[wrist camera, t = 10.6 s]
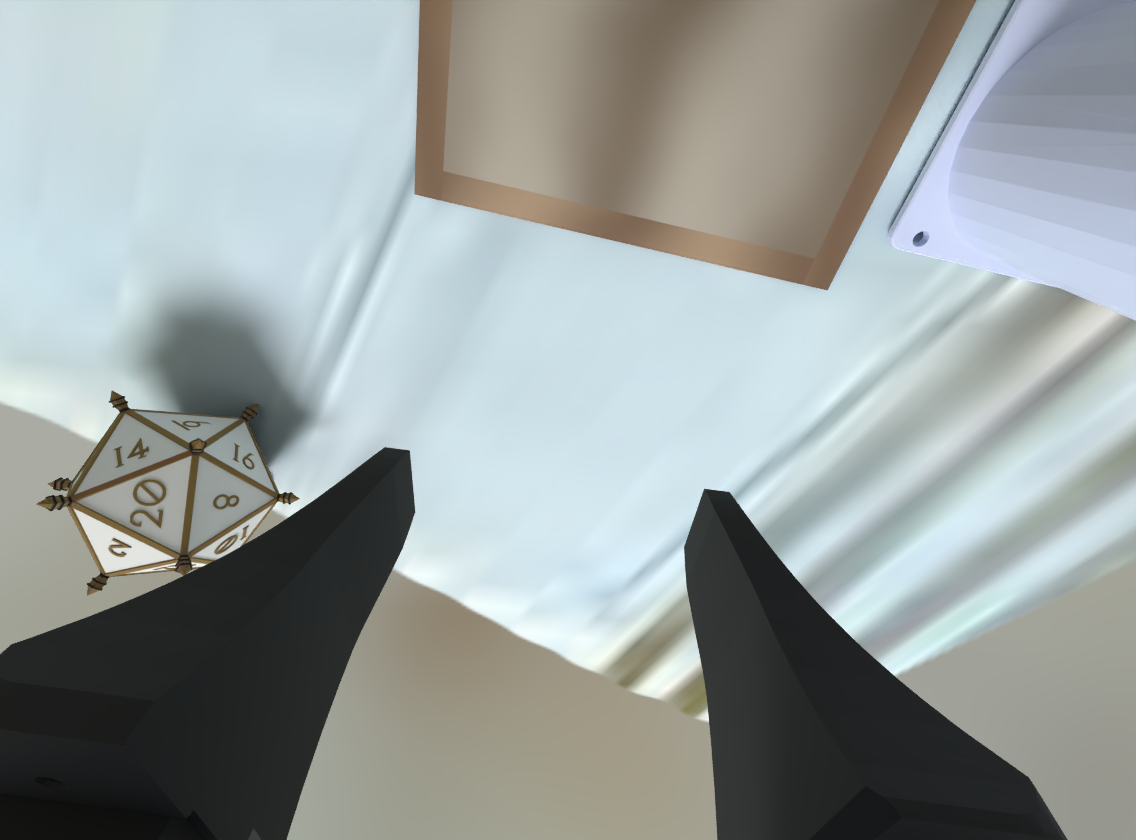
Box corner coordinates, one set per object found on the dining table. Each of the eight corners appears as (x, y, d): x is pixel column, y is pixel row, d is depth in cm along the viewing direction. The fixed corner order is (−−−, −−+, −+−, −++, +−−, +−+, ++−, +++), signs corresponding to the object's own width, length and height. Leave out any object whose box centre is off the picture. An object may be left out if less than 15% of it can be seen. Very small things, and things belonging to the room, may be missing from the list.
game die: (244, 379, 28) (5, 344, 18) (362, 439, 26) (161, 434, 16) (189, 523, 28) (-72, 563, 19) (301, 593, 26) (70, 680, 17)
